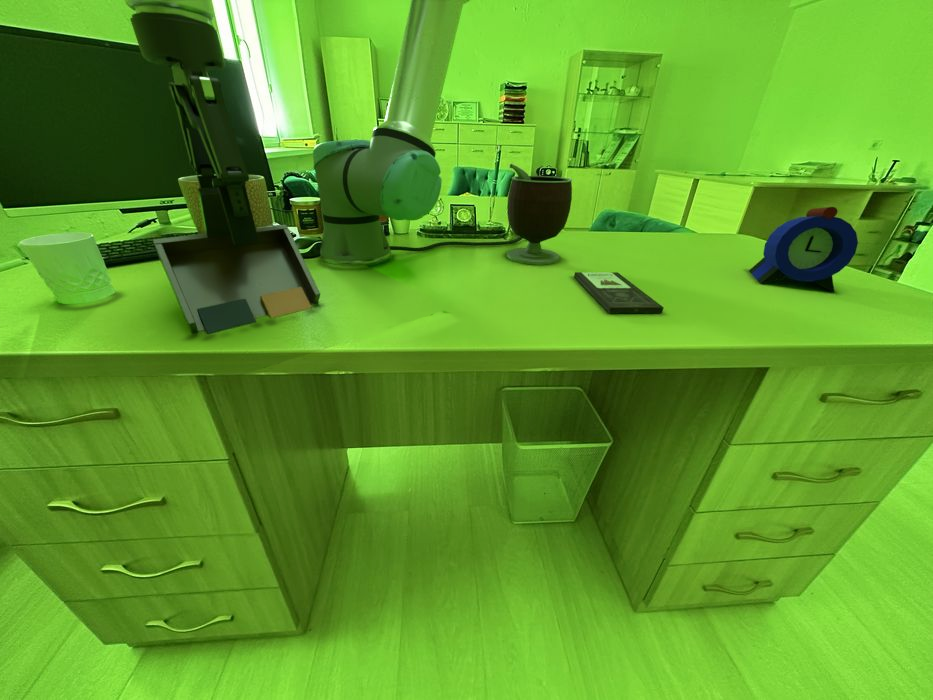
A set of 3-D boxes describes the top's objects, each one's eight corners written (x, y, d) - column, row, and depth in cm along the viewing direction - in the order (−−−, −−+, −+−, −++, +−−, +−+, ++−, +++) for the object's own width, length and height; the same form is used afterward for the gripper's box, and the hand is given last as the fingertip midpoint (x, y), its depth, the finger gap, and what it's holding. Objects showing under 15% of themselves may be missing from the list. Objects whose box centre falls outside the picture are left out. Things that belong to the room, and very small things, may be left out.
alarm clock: (761, 284, 74) (796, 205, 67) (746, 267, 84) (775, 197, 77) (836, 294, 70) (882, 211, 63) (811, 275, 80) (849, 202, 73)
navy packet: (245, 302, 54) (245, 298, 53) (256, 325, 53) (256, 321, 52) (197, 312, 51) (196, 308, 50) (208, 337, 50) (207, 333, 49)
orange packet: (300, 290, 59) (301, 286, 58) (311, 311, 58) (312, 307, 57) (260, 299, 55) (260, 295, 54) (271, 321, 55) (271, 318, 54)
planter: (224, 258, 81) (201, 183, 74) (187, 246, 89) (162, 177, 82) (293, 243, 94) (279, 177, 86) (255, 233, 102) (239, 173, 94)
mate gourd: (536, 247, 96) (546, 161, 86) (574, 260, 86) (591, 165, 76) (487, 254, 89) (491, 161, 79) (522, 270, 79) (532, 166, 69)
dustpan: (284, 238, 62) (289, 183, 52) (317, 305, 60) (329, 261, 50) (157, 255, 52) (134, 191, 42) (192, 336, 50) (176, 289, 40)
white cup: (47, 314, 55) (7, 247, 50) (66, 296, 61) (32, 234, 56) (114, 305, 58) (83, 241, 53) (126, 289, 64) (99, 230, 59)
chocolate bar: (610, 307, 59) (574, 272, 75) (608, 313, 60) (574, 276, 75) (663, 307, 60) (617, 272, 75) (662, 312, 60) (616, 276, 76)
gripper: (119, 28, 44) (185, 220, 55) (139, -17, 29) (224, 259, 40) (194, 39, 48) (241, 215, 59) (245, 5, 33) (294, 248, 44)
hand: (234, 233), depth 50 cm, fingers open, 11 cm apart
